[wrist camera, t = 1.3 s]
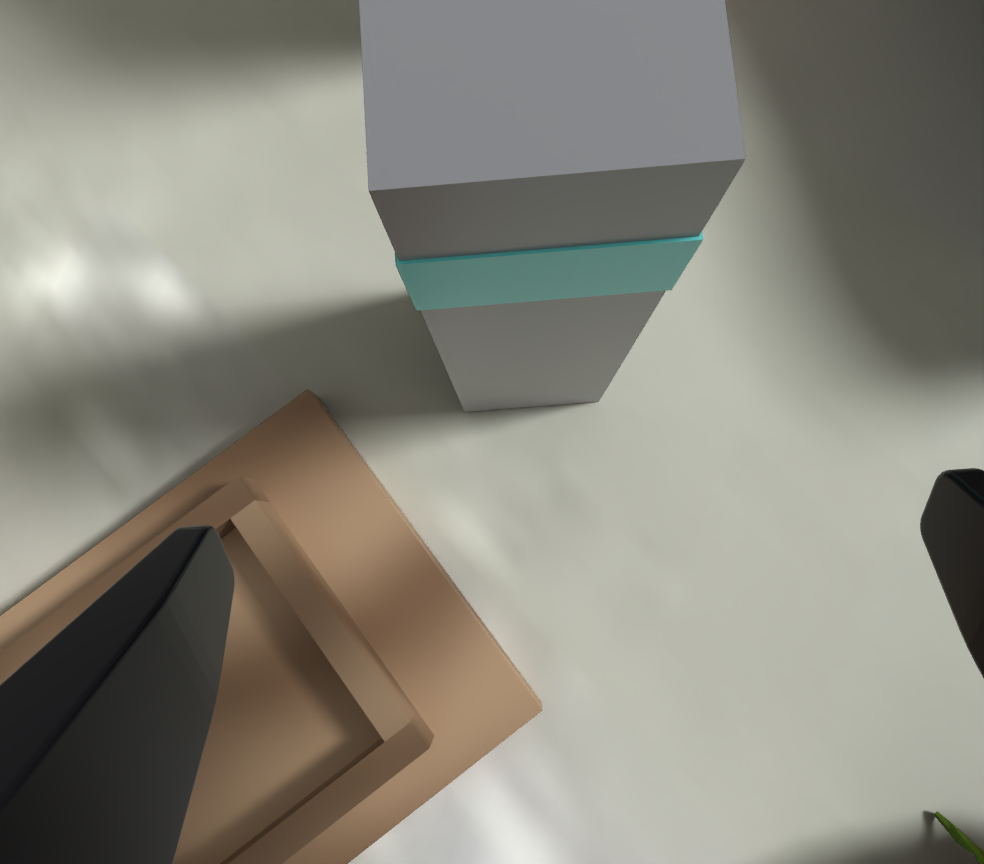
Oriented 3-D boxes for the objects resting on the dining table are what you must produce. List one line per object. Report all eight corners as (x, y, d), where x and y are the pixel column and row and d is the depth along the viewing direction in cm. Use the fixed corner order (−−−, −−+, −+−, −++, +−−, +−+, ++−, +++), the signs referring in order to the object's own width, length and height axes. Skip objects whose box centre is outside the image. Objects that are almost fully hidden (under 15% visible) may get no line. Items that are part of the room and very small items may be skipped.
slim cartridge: (600, 403, 21) (750, 162, 8) (462, 413, 22) (364, 195, 8) (587, 271, 22) (706, -176, 8) (454, 281, 22) (347, -141, 8)
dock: (541, 701, 20) (553, 787, 13) (5, 1122, 19) (-282, 1451, 12) (317, 396, 22) (223, 331, 15) (-192, 772, 21) (-548, 891, 14)
